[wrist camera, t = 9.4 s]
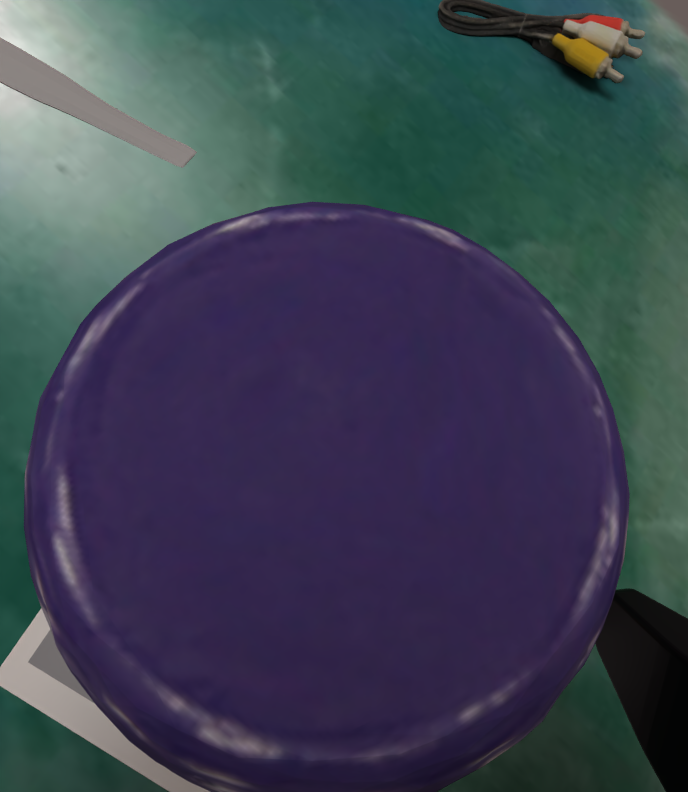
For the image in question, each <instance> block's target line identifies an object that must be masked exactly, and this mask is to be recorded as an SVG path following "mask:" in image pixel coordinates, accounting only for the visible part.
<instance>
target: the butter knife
mask: <svg viewBox="0 0 688 792" xmlns="http://www.w3.org/2000/svg"><path fill="white" fill-rule="evenodd" d="M0 82H2V83H4V84H6V85H8V86H10V87H12V88H14V89H16V90H18V91H20V92H22V93H24V94H26V95H28V96H30V97H32V98H34V99H36V100H38V101H40V102H43V103H45V104H47V105H50V106H52V107H54V108H57V109H59V110H61V111H63V112H66V113H68V114H70V115H72V116H74V117H76V118H79V119H81V120H83V121H85V122H87V123H89V124H92V125H94V126H96V127H98V128H100V129H102V130H104V131H106V132H108V133H110V134H112V135H114V136H116V137H118V138H120V139H122V140H124V141H126V142H128V143H131V144H133V145H135V146H137V147H139V148H141V149H143V150H145V151H147V152H149V153H151V154H153V155H155V156H157V157H159V158H162V159H164V160H166V161H168V162H170V163H172V164H174V165H176V166H179V167H182V168H183V167H184V166H185V165H186V164H187V163H188V162H189V161H190V160H191V159H192V158H193V156H194V155H195V154H196V153H197V152H196V151H195V150H193V149H192V148H190V147H189V146H187V145H185V144H183V143H181V142H178V141H176V140H174V139H172V138H169V137H167V136H165V135H163V134H161V133H159V132H157V131H155V130H154V129H152V128H150V127H148V126H146V125H145V124H143V123H141V122H139V121H137V120H136V119H134V118H132V117H130V116H128V115H127V114H125V113H123V112H121V111H119V110H118V109H116V108H114V107H112V106H111V105H109V104H107V103H106V102H104V101H103V100H101V99H100V98H98V97H97V96H95V95H94V94H92V93H91V92H89V91H88V90H86V89H85V88H83V87H82V86H80V85H79V84H77V83H76V82H74V81H73V80H71V79H70V78H68V77H67V76H65V75H64V74H62V73H61V72H59V71H57V70H56V69H54V68H52V67H50V66H49V65H47V64H45V63H44V62H42V61H40V60H39V59H37V58H35V57H33V56H32V55H30V54H28V53H27V52H25V51H23V50H21V49H20V48H18V47H16V46H14V45H13V44H11V43H9V42H7V41H5V40H3V39H2V38H0Z"/></svg>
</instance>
